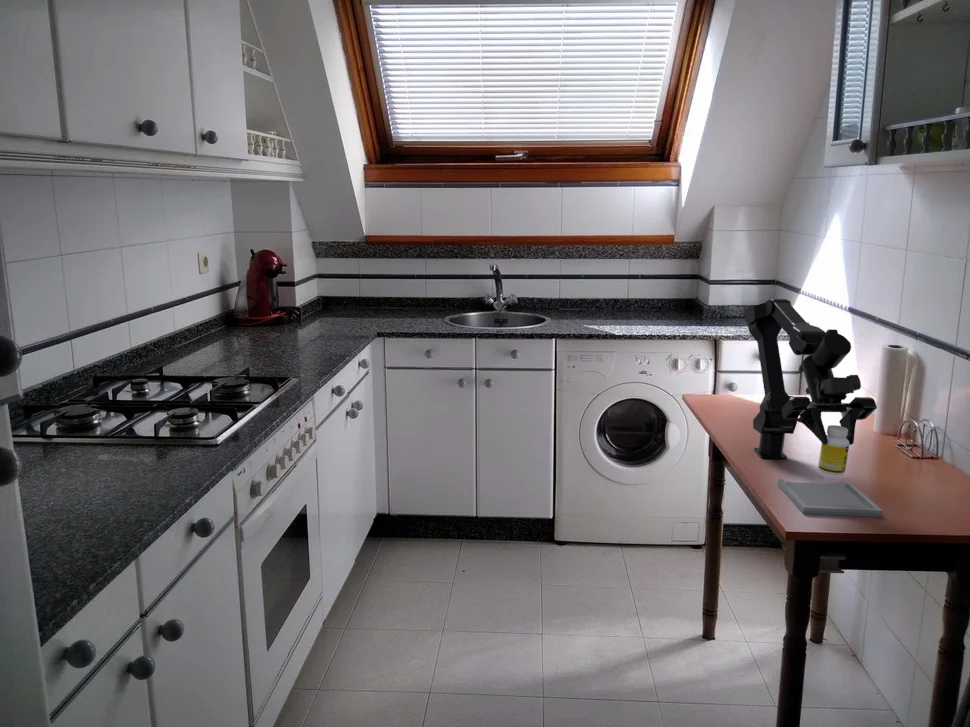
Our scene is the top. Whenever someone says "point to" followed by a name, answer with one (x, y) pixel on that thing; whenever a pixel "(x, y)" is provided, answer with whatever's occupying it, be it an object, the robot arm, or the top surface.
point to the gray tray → (829, 499)
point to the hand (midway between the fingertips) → (838, 443)
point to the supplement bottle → (834, 451)
